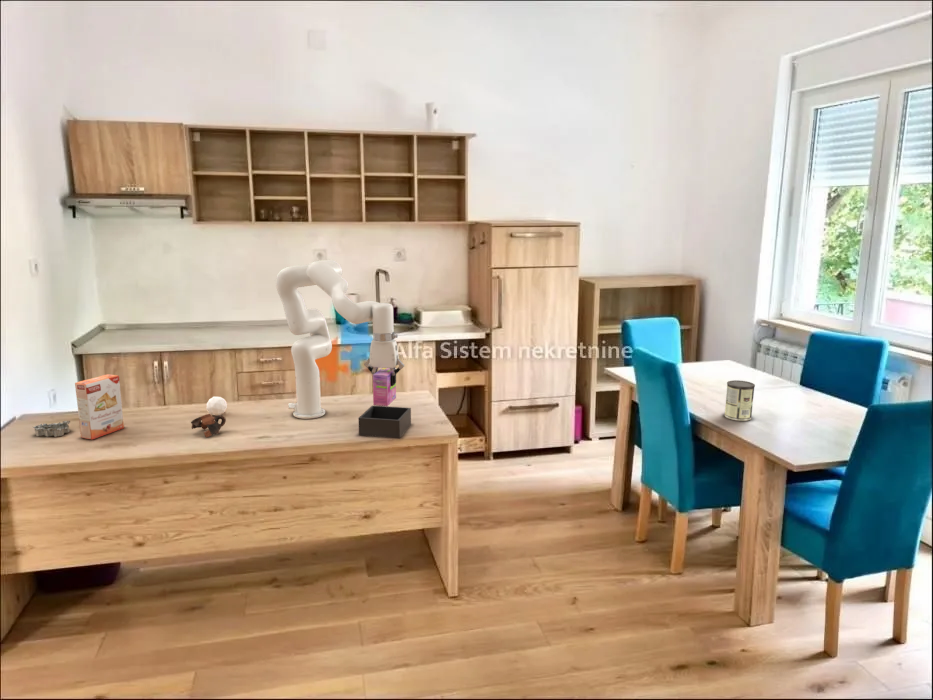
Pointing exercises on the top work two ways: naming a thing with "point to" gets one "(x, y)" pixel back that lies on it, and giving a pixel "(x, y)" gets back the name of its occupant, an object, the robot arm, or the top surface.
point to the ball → (216, 406)
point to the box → (383, 388)
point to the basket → (384, 421)
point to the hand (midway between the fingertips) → (384, 384)
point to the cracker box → (99, 406)
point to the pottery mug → (209, 424)
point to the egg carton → (52, 429)
